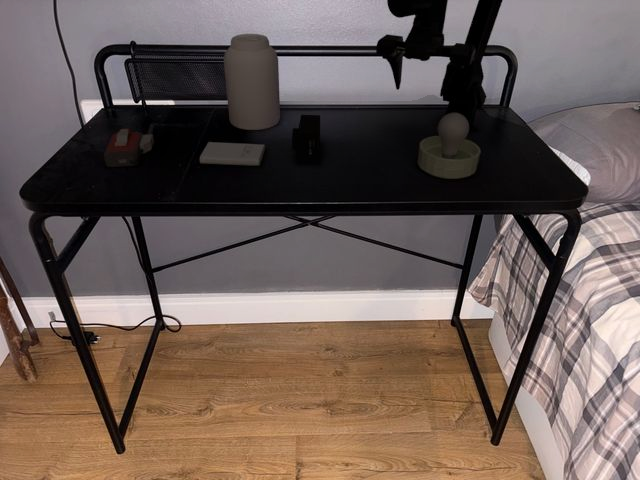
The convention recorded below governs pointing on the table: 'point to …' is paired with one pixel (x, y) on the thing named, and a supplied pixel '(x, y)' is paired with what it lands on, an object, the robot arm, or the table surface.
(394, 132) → the table surface
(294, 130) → the digital camera
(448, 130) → the lightbulb
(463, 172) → the bowl
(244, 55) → the wide mouth jar
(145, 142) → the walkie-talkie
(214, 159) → the hard drive
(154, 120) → the table surface
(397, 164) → the table surface
